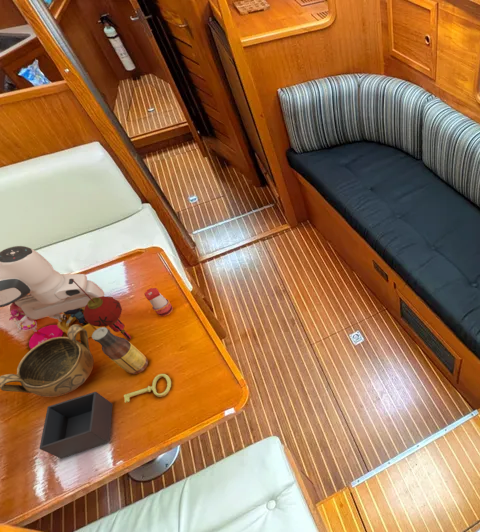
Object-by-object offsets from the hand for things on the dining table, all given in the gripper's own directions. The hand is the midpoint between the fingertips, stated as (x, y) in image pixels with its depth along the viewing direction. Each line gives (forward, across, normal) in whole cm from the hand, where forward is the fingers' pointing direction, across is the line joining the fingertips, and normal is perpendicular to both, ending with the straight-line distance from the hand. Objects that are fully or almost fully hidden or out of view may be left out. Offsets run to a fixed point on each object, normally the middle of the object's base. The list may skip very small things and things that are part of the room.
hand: (79, 315), depth 128 cm
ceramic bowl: (+5, -2, -20) cm, 21 cm away
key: (+5, +20, -33) cm, 39 cm away
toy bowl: (+5, 0, 0) cm, 5 cm away
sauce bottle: (+5, +16, -23) cm, 28 cm away
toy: (+5, +24, -5) cm, 26 cm away
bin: (+5, +4, -39) cm, 39 cm away
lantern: (+5, +13, -11) cm, 18 cm away
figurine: (+5, -12, -1) cm, 13 cm away
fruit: (+5, -17, +10) cm, 21 cm away
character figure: (+5, 0, 0) cm, 5 cm away
